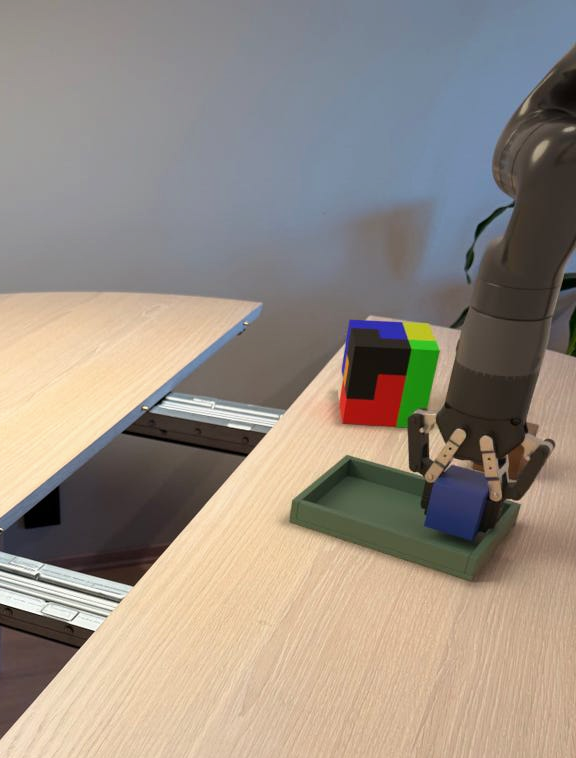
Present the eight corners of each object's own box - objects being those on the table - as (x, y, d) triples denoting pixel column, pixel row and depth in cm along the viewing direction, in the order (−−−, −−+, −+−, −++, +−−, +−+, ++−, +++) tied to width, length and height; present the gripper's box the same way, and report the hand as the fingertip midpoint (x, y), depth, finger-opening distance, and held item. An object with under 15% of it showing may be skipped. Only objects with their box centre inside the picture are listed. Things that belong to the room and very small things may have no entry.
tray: (515, 525, 104) (521, 503, 102) (471, 581, 95) (477, 558, 93) (343, 475, 113) (346, 454, 111) (288, 521, 104) (291, 499, 102)
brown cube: (527, 464, 115) (539, 424, 113) (514, 480, 112) (526, 439, 109) (485, 453, 118) (495, 414, 115) (471, 468, 115) (481, 428, 112)
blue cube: (488, 521, 101) (500, 477, 98) (471, 541, 97) (484, 496, 94) (441, 507, 103) (451, 464, 100) (423, 526, 100) (433, 482, 97)
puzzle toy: (337, 393, 133) (349, 319, 127) (413, 397, 132) (428, 323, 126) (342, 423, 125) (355, 346, 119) (423, 428, 124) (439, 350, 118)
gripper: (590, 363, 89) (539, 527, 99) (437, 331, 96) (403, 487, 106) (568, 388, 84) (516, 558, 94) (408, 352, 91) (375, 514, 101)
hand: (456, 520), depth 100 cm, fingers closed on blue cube, 5 cm apart
